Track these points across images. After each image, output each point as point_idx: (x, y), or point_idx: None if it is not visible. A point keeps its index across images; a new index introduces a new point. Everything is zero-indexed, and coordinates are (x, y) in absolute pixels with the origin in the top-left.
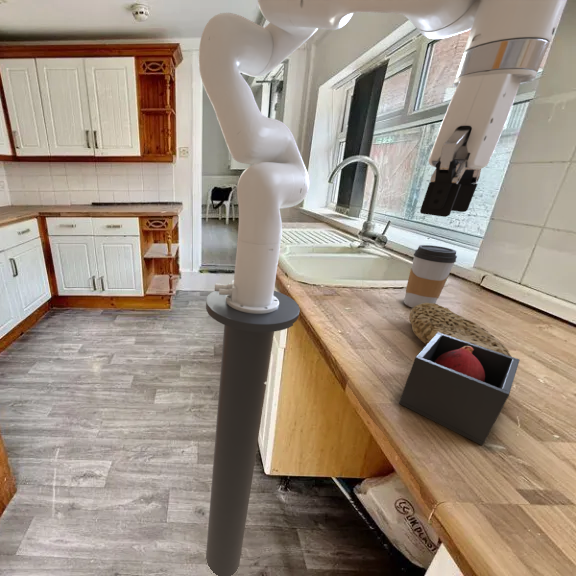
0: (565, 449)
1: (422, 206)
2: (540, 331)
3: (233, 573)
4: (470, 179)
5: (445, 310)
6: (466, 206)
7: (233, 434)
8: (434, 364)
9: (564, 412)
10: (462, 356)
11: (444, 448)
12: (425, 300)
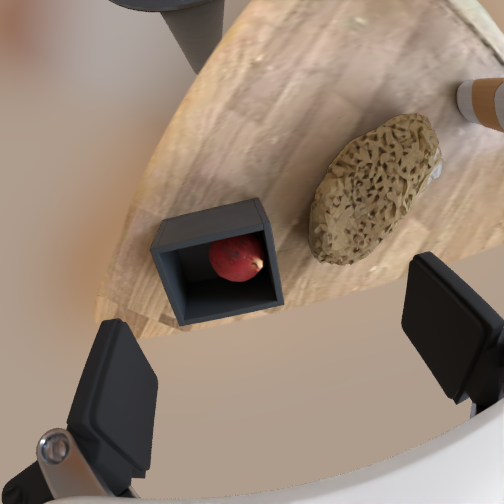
0: (254, 315)
1: (99, 337)
2: (491, 227)
3: None
4: (475, 400)
5: (408, 171)
6: (410, 338)
7: (173, 34)
8: (157, 268)
9: (321, 298)
10: (232, 267)
11: (147, 273)
12: (470, 113)
